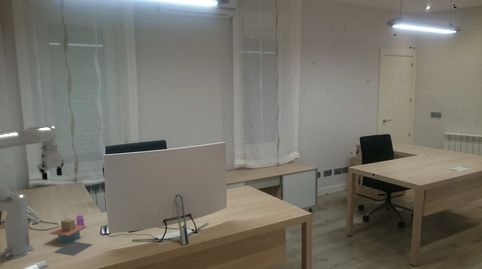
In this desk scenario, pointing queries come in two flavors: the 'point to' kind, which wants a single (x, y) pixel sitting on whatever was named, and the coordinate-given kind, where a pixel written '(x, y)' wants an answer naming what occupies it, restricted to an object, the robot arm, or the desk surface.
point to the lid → (68, 228)
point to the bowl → (70, 238)
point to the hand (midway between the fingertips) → (52, 177)
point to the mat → (73, 248)
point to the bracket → (80, 220)
